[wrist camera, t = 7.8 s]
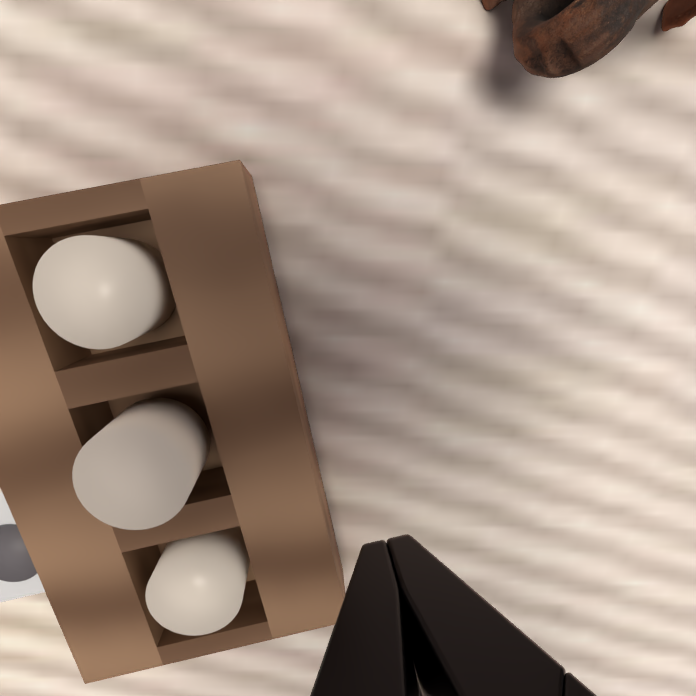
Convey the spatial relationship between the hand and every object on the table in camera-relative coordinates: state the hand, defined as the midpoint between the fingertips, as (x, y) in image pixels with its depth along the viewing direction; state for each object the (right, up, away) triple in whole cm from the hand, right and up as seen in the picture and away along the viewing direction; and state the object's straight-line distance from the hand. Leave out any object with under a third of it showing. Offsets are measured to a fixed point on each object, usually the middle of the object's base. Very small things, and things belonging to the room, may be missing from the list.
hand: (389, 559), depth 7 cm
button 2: (-8, -6, +13) cm, 17 cm away
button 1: (-10, +6, +10) cm, 16 cm away
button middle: (-9, 0, +10) cm, 13 cm away
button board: (-9, 0, +13) cm, 15 cm away
